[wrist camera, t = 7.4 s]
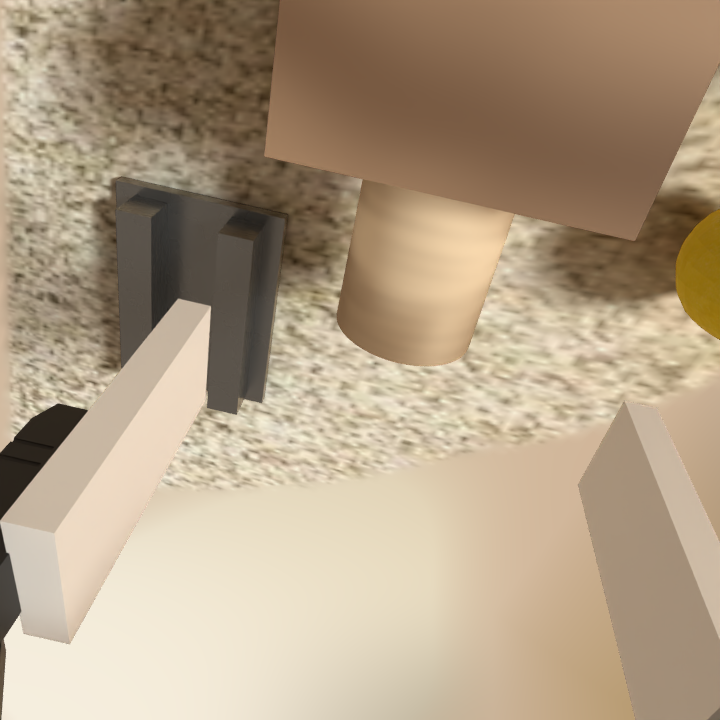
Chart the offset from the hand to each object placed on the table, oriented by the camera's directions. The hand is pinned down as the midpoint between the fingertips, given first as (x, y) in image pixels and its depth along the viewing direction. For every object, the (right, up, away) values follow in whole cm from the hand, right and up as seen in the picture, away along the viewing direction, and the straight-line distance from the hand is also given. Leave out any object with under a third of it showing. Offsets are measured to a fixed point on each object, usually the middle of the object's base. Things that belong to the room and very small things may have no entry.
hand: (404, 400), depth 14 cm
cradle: (-9, +4, +17) cm, 20 cm away
